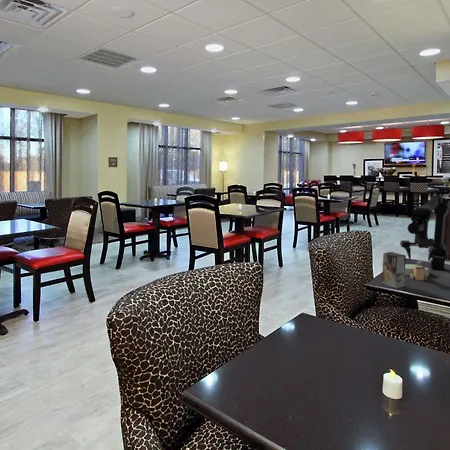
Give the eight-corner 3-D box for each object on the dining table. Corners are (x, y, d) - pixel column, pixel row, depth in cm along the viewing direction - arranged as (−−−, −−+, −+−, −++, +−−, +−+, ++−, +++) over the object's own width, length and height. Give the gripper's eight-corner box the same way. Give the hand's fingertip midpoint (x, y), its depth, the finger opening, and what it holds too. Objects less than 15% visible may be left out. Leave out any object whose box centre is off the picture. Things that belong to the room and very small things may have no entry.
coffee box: (404, 286, 193) (406, 255, 191) (395, 288, 191) (397, 256, 188) (390, 281, 202) (391, 251, 199) (381, 283, 199) (382, 252, 196)
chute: (420, 276, 210) (421, 264, 208) (423, 280, 203) (424, 267, 202) (412, 276, 210) (413, 264, 209) (415, 280, 204) (416, 267, 203)
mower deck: (424, 271, 218) (425, 260, 217) (432, 280, 202) (433, 268, 201) (401, 270, 220) (401, 259, 219) (407, 279, 205) (407, 267, 204)
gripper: (405, 233, 197) (403, 263, 199) (445, 234, 192) (443, 265, 195) (400, 229, 207) (399, 258, 210) (439, 230, 203) (436, 259, 206)
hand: (419, 260), depth 205 cm, fingers open, 9 cm apart
